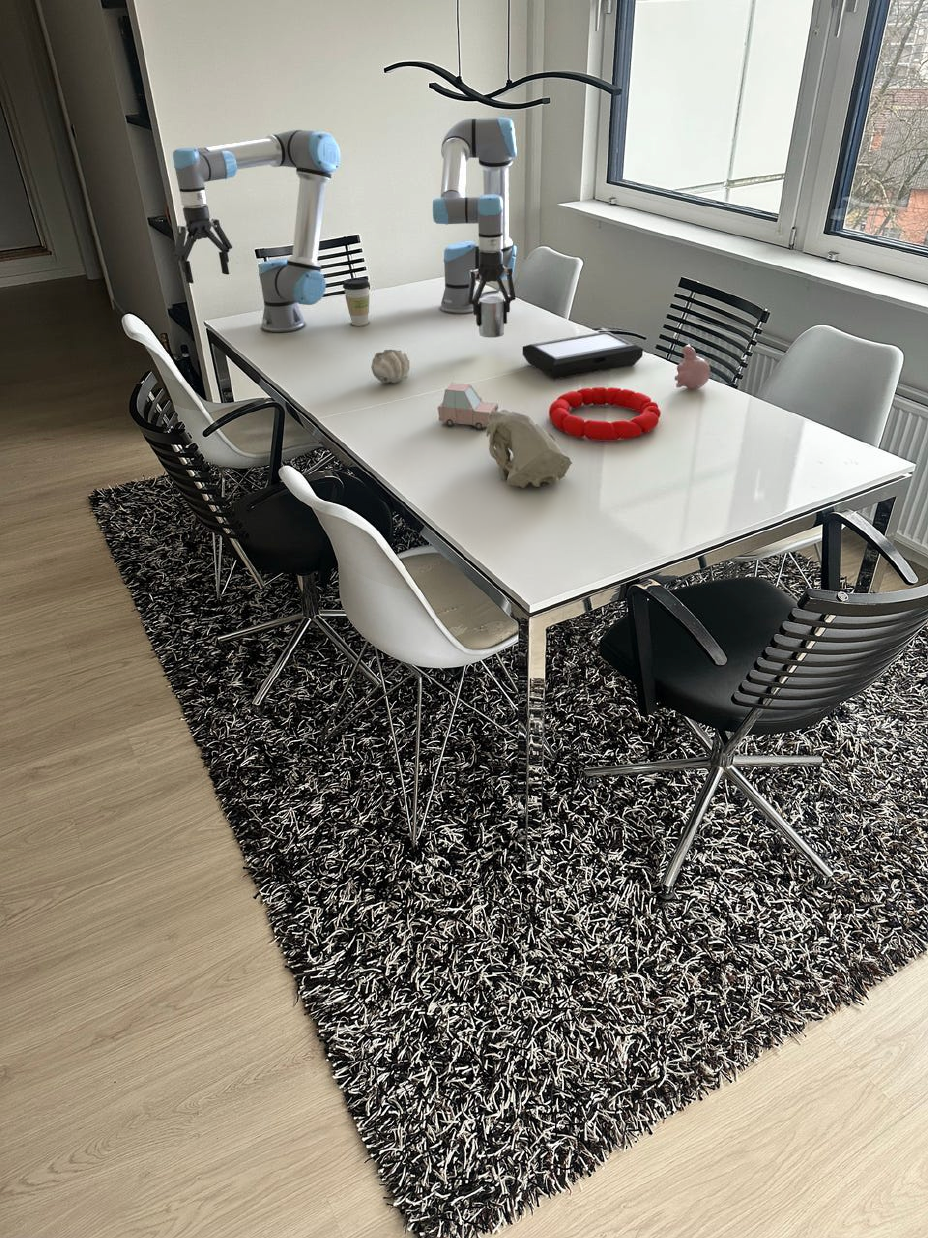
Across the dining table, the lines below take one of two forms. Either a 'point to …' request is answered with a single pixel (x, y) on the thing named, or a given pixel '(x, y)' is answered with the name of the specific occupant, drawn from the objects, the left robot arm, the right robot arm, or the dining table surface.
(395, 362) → the seashell
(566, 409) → the decorative ring
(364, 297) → the coffee cup
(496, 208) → the right robot arm
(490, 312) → the canister
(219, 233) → the left robot arm
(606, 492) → the dining table surface
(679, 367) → the figurine
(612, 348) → the electronic device
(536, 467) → the animal skull
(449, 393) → the toy car
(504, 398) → the dining table surface
